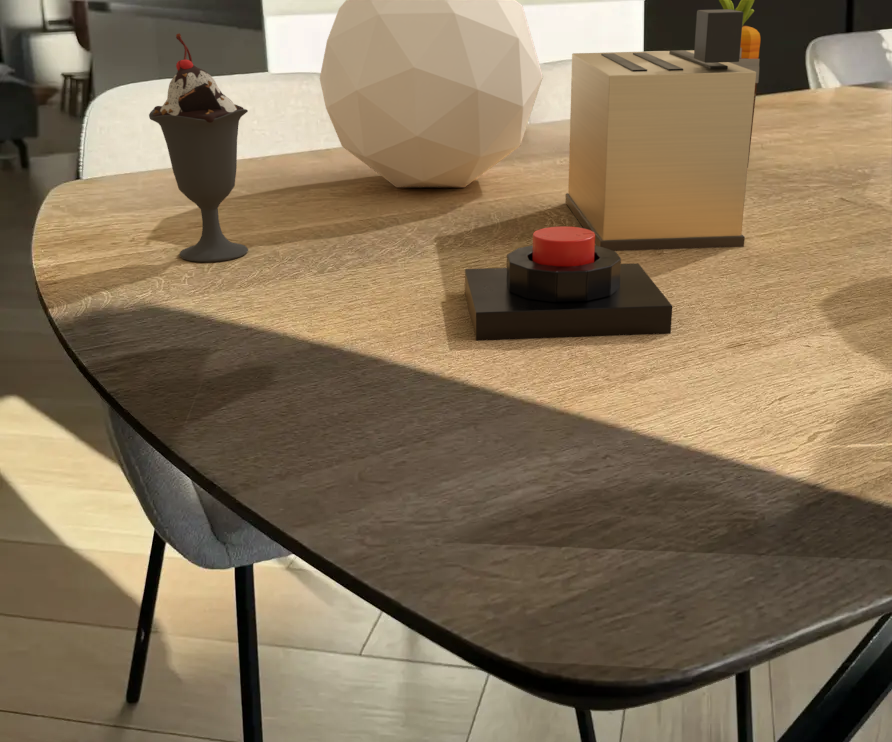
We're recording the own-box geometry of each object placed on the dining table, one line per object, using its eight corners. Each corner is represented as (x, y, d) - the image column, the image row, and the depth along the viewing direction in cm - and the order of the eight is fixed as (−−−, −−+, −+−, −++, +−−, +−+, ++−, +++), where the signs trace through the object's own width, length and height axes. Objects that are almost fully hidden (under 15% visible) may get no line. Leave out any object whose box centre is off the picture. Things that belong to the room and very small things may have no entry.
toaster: (686, 199, 95) (697, 47, 90) (744, 247, 80) (760, 68, 75) (565, 202, 94) (569, 50, 89) (600, 252, 79) (607, 72, 74)
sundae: (199, 239, 85) (175, 30, 79) (276, 245, 83) (258, 31, 77) (148, 261, 80) (118, 38, 73) (229, 268, 77) (205, 39, 71)
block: (637, 289, 71) (640, 234, 70) (670, 334, 63) (674, 274, 61) (464, 295, 71) (464, 240, 69) (476, 341, 62) (475, 280, 61)
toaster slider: (727, 57, 79) (731, 9, 77) (739, 62, 76) (743, 11, 75) (693, 58, 79) (696, 10, 77) (704, 62, 76) (708, 12, 75)
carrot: (702, 137, 123) (712, -10, 117) (710, 130, 127) (721, -12, 121) (747, 139, 121) (761, -10, 115) (755, 132, 125) (768, -12, 119)
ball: (397, 268, 102) (251, 97, 91) (422, 153, 116) (298, -8, 105) (578, 173, 93) (440, -30, 82) (582, 60, 107) (464, -126, 96)
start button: (588, 254, 67) (589, 225, 66) (599, 270, 64) (600, 240, 63) (528, 256, 67) (529, 227, 66) (536, 272, 64) (536, 242, 63)
